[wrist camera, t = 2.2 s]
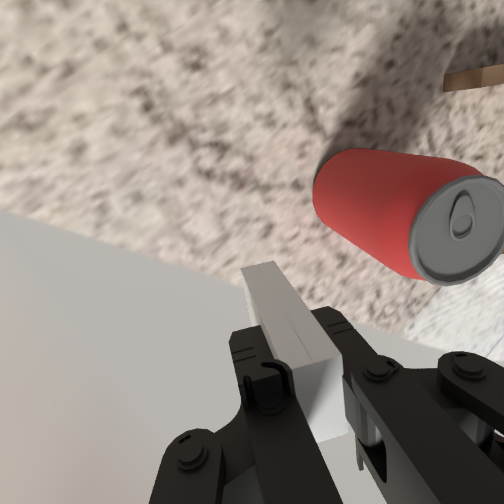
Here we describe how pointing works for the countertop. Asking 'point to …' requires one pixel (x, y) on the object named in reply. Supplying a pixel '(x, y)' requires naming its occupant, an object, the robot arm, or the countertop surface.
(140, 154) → the countertop surface
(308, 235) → the countertop surface
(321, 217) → the beer can
